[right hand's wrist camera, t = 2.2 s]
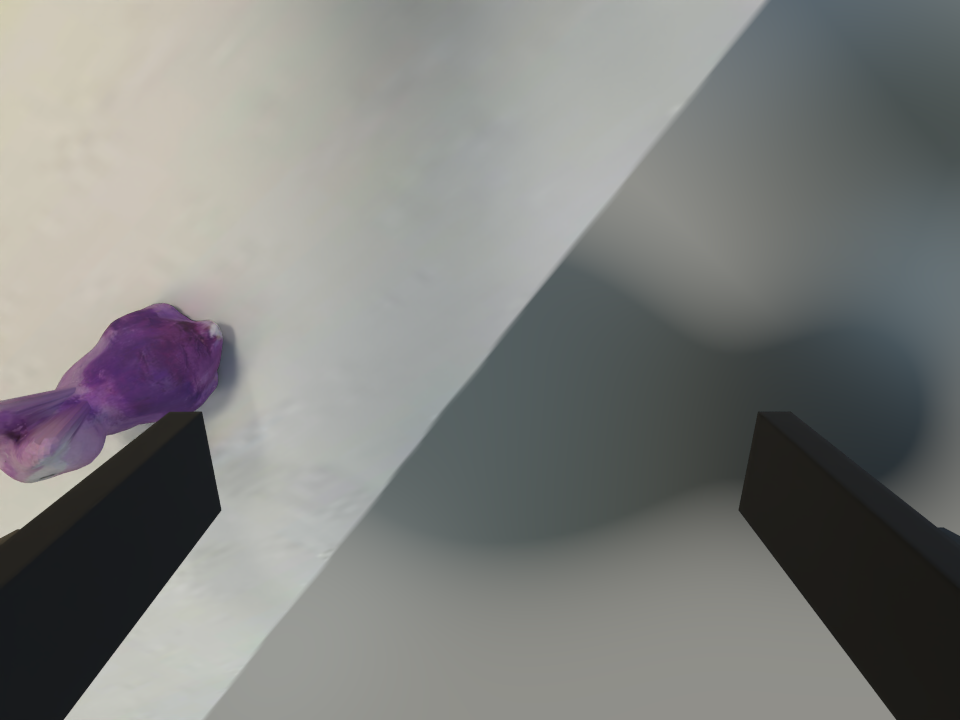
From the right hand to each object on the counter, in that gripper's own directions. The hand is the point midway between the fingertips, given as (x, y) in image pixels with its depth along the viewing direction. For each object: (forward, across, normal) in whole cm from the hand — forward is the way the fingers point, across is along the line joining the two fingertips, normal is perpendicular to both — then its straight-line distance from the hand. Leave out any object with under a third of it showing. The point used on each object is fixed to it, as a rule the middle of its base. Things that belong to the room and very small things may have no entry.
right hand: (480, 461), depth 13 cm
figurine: (+28, -24, -8) cm, 38 cm away
